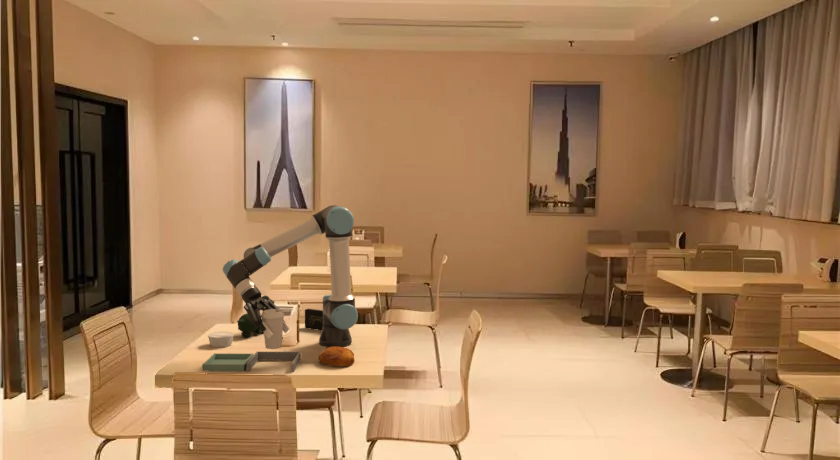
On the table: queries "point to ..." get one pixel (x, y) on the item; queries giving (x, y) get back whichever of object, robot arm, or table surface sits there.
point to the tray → (227, 362)
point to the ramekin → (220, 339)
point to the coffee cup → (273, 327)
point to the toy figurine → (248, 324)
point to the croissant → (336, 357)
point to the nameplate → (314, 319)
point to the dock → (275, 358)
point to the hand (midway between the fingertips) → (279, 333)
